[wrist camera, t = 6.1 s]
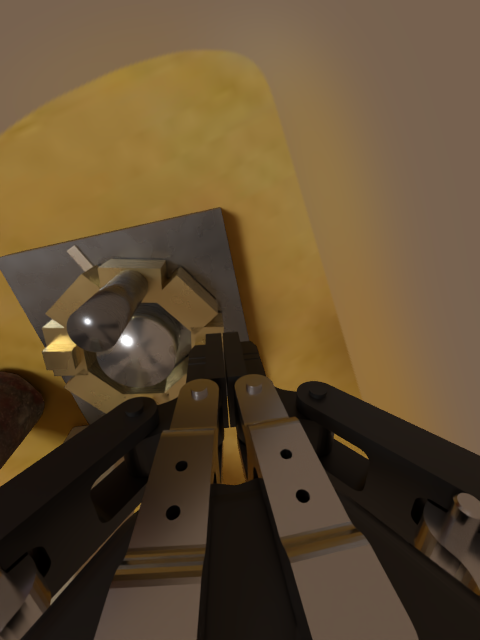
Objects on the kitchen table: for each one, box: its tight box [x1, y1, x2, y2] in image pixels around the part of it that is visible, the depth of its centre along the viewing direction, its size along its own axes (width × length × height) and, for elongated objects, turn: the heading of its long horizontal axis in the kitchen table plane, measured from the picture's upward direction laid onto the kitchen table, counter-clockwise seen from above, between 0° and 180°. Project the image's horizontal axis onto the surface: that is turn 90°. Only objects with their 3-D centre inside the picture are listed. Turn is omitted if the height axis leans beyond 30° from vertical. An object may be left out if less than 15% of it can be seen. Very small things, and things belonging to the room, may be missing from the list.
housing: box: [0, 207, 249, 425], centre depth 25 cm, size 18×18×6 cm
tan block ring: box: [42, 259, 224, 414], centre depth 21 cm, size 14×14×10 cm
